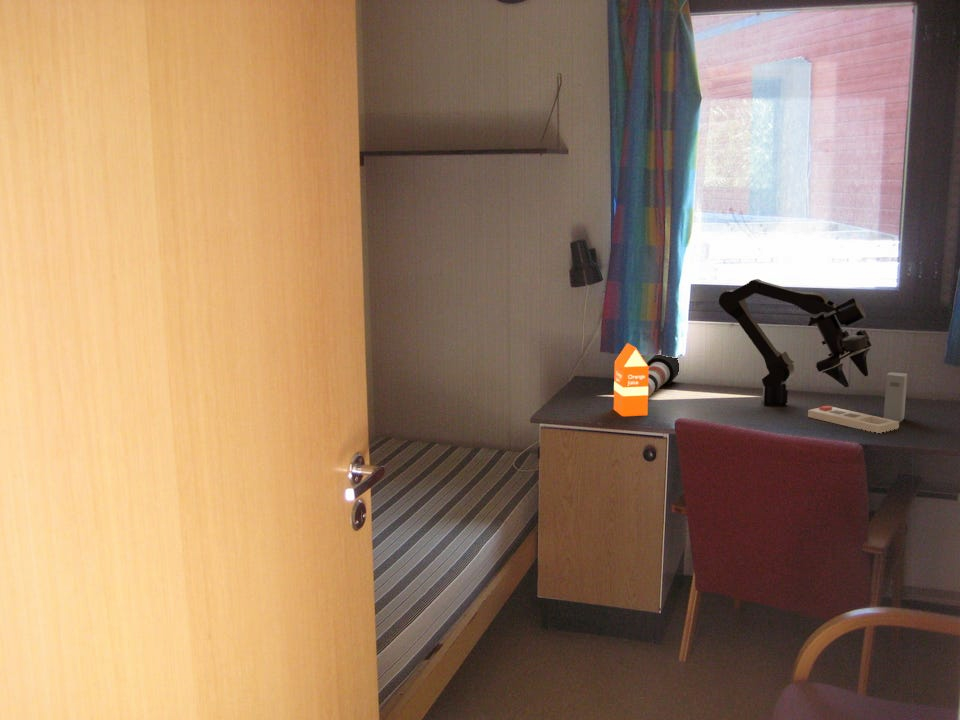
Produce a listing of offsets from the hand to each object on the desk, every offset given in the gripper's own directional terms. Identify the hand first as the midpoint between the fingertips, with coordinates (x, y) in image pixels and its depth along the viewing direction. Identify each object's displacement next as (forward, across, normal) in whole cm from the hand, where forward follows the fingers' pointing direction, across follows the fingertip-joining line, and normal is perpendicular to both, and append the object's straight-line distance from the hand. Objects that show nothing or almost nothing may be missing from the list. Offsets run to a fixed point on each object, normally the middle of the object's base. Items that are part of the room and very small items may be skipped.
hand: (857, 381), depth 266 cm
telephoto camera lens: (-22, -28, +52) cm, 63 cm away
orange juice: (-20, -53, +34) cm, 66 cm away
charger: (+14, 0, -5) cm, 14 cm away
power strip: (+9, -12, -2) cm, 15 cm away
